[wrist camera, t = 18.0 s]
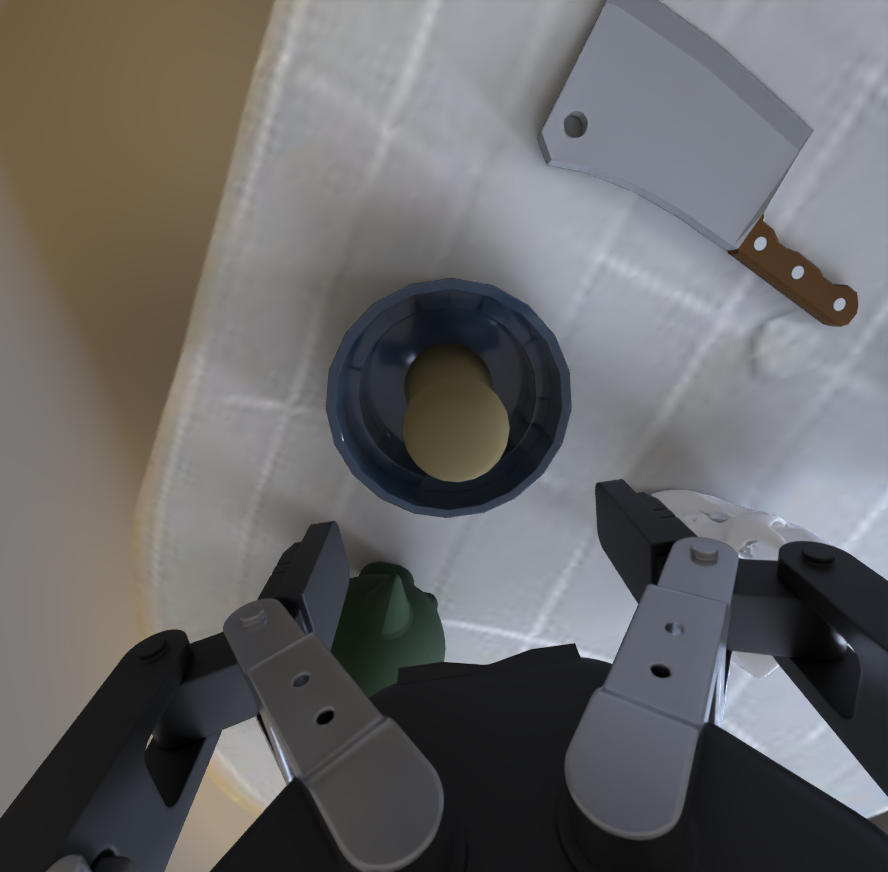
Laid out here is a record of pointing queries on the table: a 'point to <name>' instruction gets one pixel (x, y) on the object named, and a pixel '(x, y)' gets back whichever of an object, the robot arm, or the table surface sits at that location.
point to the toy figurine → (386, 627)
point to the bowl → (384, 404)
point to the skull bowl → (737, 542)
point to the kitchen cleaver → (689, 140)
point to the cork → (453, 414)
